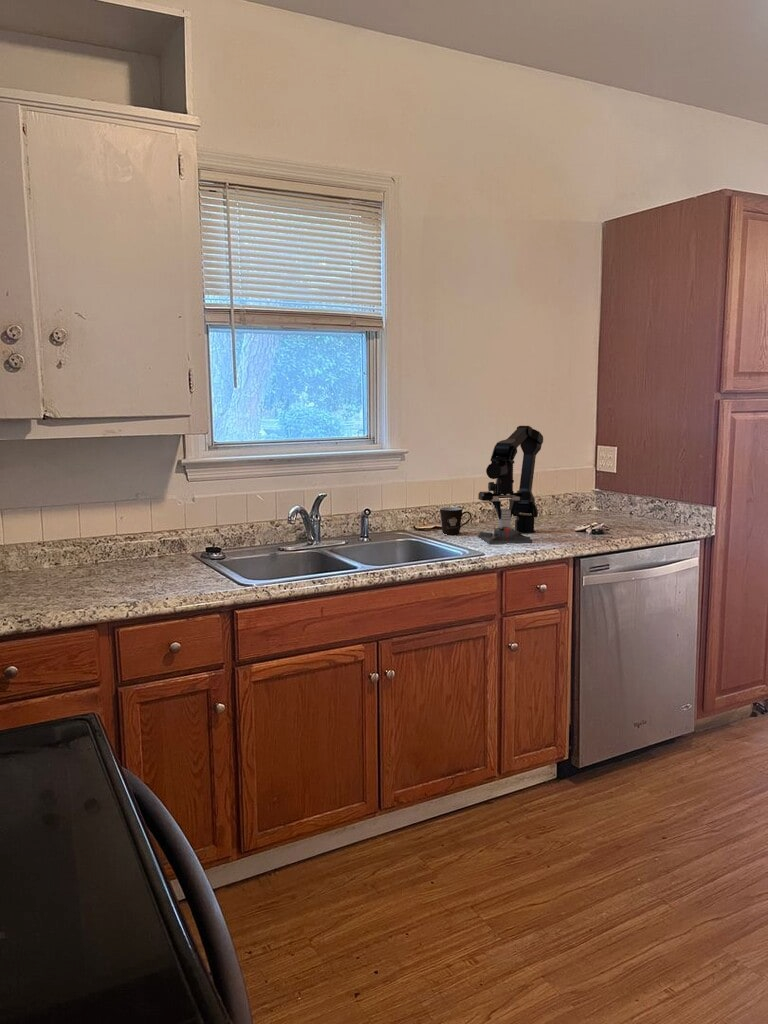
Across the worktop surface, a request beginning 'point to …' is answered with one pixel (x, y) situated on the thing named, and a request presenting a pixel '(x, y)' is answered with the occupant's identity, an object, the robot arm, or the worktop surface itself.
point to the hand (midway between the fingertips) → (504, 518)
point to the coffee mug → (452, 520)
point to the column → (505, 519)
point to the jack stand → (504, 536)
